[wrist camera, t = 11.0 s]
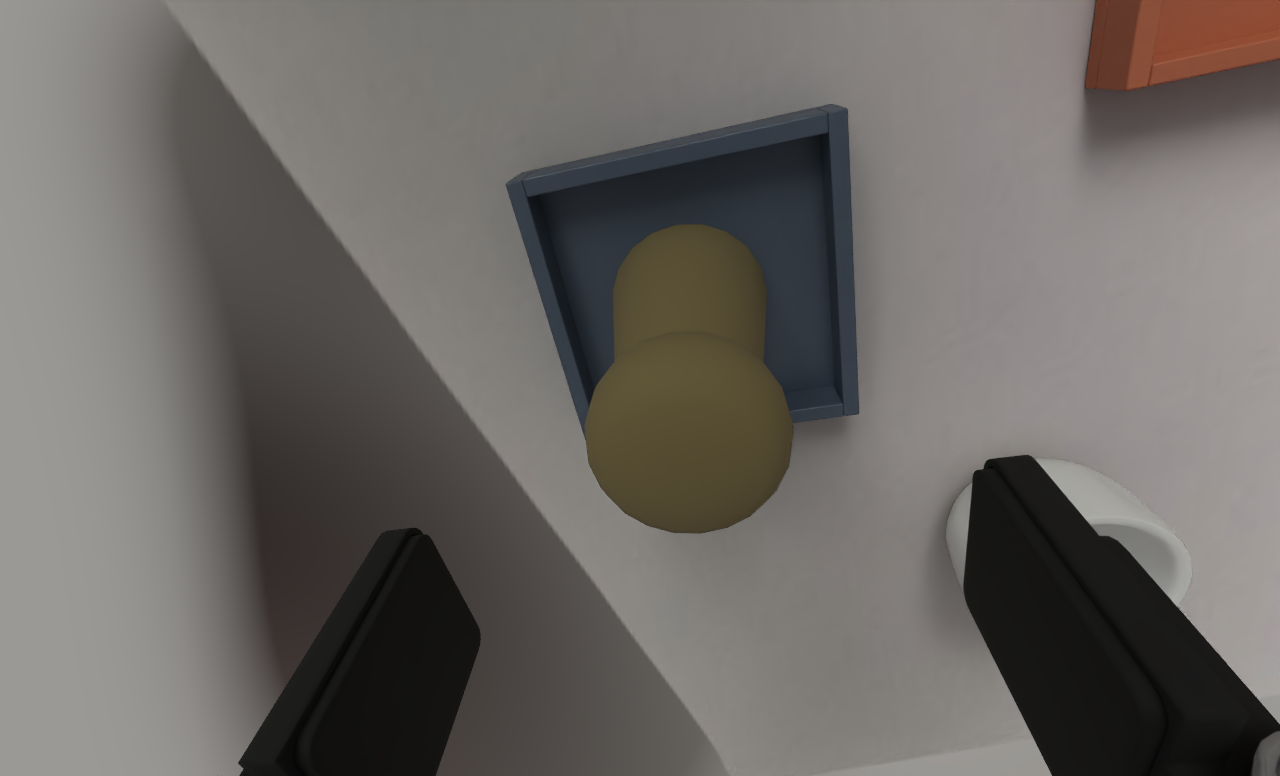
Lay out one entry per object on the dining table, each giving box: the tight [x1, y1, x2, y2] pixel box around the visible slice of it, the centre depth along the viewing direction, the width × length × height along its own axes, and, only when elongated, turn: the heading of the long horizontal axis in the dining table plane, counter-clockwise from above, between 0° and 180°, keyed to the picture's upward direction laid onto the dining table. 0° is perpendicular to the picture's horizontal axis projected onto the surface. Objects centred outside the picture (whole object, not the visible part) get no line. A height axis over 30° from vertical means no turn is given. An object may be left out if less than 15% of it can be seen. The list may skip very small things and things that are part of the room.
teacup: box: [946, 458, 1192, 607], centre depth 25 cm, size 10×8×5 cm
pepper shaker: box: [584, 224, 794, 533], centre depth 18 cm, size 6×6×11 cm
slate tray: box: [506, 104, 859, 440], centre depth 22 cm, size 11×11×2 cm
